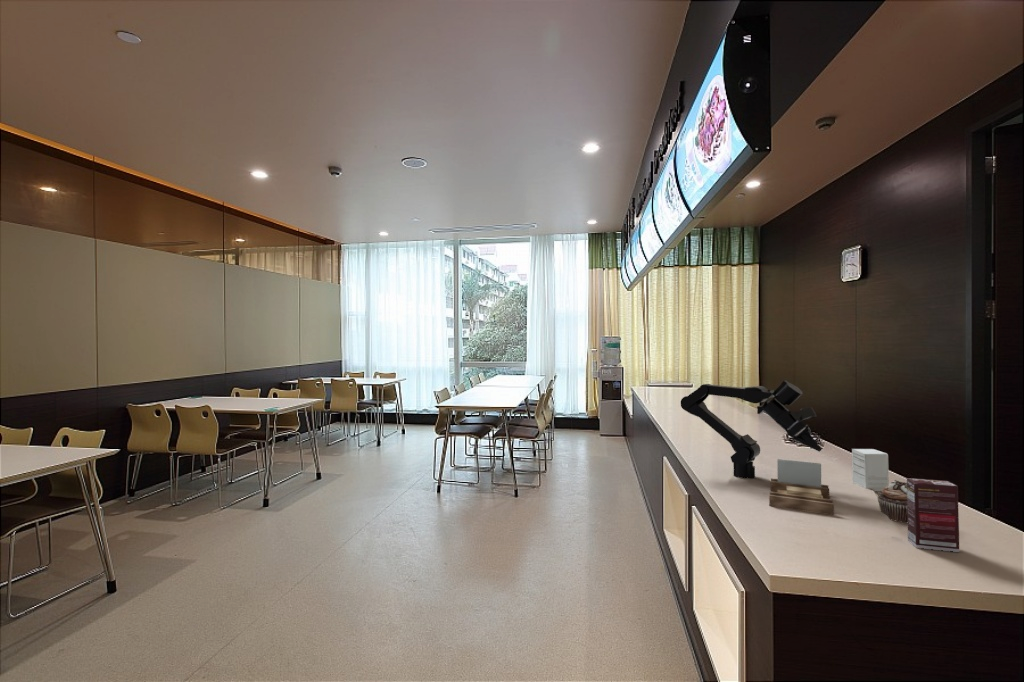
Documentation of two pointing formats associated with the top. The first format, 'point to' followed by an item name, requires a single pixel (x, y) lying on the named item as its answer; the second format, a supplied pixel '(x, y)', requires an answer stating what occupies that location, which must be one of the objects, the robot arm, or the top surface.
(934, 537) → the supplement box
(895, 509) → the cupcake
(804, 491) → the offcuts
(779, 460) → the panel
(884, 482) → the supplement box
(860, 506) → the top surface
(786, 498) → the rack
